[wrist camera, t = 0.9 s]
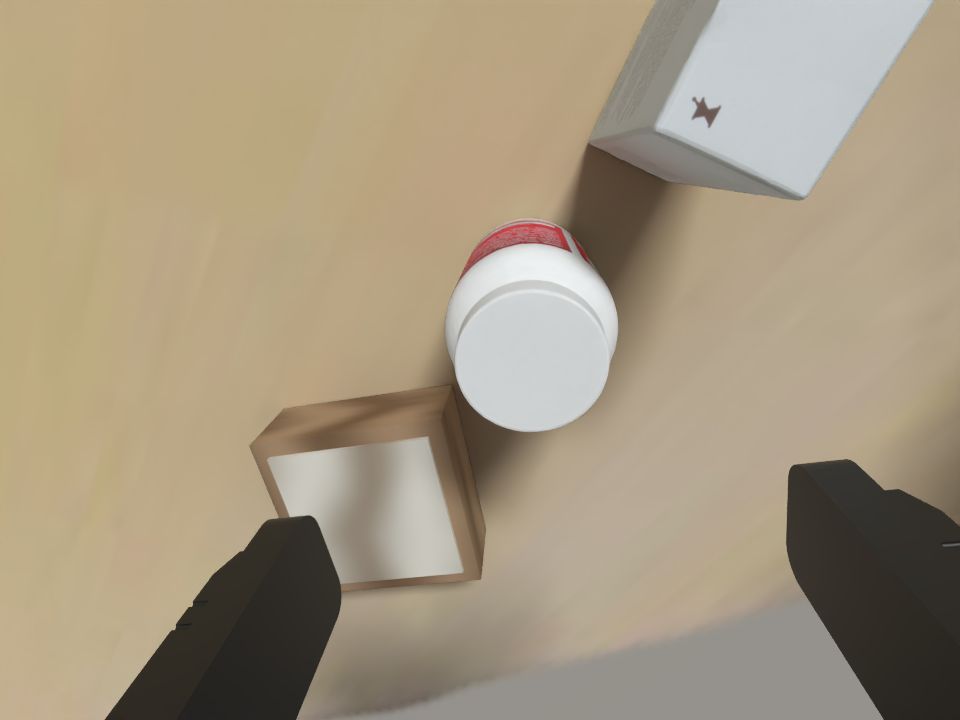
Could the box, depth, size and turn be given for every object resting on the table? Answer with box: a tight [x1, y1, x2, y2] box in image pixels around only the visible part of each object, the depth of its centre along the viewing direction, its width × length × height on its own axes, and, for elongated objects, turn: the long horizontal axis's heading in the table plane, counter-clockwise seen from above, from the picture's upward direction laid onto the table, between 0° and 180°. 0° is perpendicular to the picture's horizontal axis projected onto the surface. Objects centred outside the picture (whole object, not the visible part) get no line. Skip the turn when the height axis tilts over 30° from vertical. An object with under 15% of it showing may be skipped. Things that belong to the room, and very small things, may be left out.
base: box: [249, 384, 486, 592], centre depth 28 cm, size 10×10×4 cm
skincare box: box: [589, 0, 935, 200], centre depth 16 cm, size 6×4×12 cm
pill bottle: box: [445, 218, 618, 432], centre depth 20 cm, size 6×6×11 cm
